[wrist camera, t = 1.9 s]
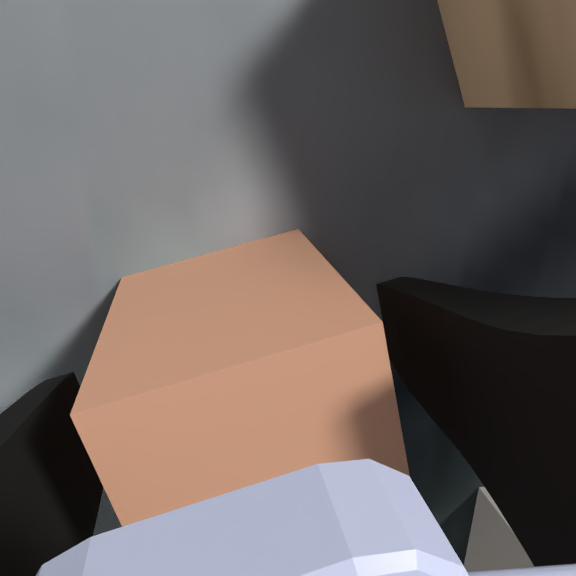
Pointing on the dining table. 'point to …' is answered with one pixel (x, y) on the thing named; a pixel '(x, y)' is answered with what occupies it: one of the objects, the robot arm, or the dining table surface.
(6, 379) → the dining table surface
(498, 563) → the off-white cube
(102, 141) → the dining table surface
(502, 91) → the oak cube
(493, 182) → the dining table surface
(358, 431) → the terracotta block
